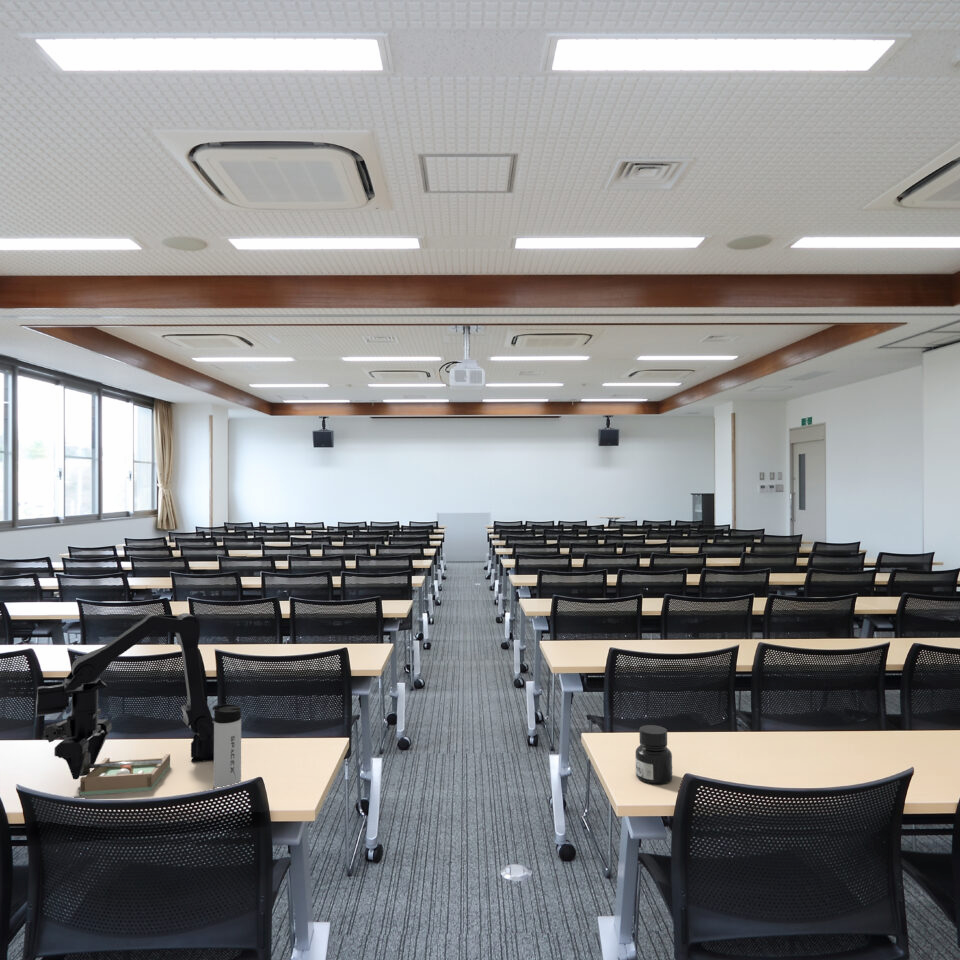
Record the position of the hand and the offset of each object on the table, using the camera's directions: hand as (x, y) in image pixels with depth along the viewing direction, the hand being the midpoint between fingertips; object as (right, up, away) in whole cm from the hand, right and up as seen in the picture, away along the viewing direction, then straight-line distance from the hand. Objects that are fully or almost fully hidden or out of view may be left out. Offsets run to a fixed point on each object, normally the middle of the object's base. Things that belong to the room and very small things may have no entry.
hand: (84, 771), depth 167 cm
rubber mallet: (+8, -2, +1) cm, 9 cm away
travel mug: (+37, -3, -4) cm, 37 cm away
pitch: (+10, -3, +2) cm, 10 cm away
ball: (+10, -1, -1) cm, 10 cm away
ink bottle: (+143, -2, +1) cm, 143 cm away
